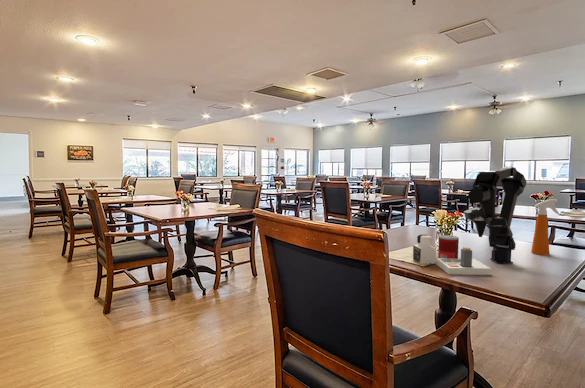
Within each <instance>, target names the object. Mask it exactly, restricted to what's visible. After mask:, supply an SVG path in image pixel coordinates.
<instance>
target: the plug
mask: <svg viewBox="0 0 585 388" xmlns="http://www.w3.org/2000/svg"><path fill="white" fill-rule="evenodd" d="M460 259H461V266H462V267H472V259H473V250H472V249H471V248H470V247H468V246H462V248H460Z"/></svg>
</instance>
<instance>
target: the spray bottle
mask: <svg viewBox="0 0 585 388" xmlns="http://www.w3.org/2000/svg"><path fill="white" fill-rule="evenodd" d="M556 203H558V198H551V199H547V200H543V201H540V202H538V203H536V204H535V205H534V207H535V208H538V210H537V216H536V221H535V229H534V233H533V239H532V245H531V253H532V254H535V255H541V256H548V255H550V242H549V240H550V239H549V226H548V225H549V224H548V223H549V222H548V209H551V210H552V211H553V212H554V213H555V214H557V215H558V216H561V214H560V212H559V211H558V209H557V208H556Z"/></svg>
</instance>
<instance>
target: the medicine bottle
mask: <svg viewBox="0 0 585 388" xmlns="http://www.w3.org/2000/svg"><path fill="white" fill-rule="evenodd" d="M416 238H417V240H416V242H417V243H416V244H413V247H412V249H413V250H412V260H413V261H414V262H415V263H417V264H419V265H436V258H437V248H436V247H435V246H433V236H432V235H429V234H424V233H423V234H419V235H417V237H416ZM430 263H431V264H430Z"/></svg>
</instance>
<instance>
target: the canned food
mask: <svg viewBox="0 0 585 388" xmlns="http://www.w3.org/2000/svg"><path fill="white" fill-rule="evenodd" d="M459 241H460V240H459V237H458V236H457V235H451V234H440V235H438V256H437V257H438V258H453V259H459Z"/></svg>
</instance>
